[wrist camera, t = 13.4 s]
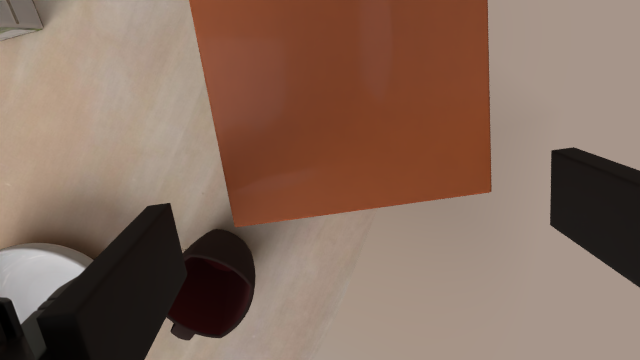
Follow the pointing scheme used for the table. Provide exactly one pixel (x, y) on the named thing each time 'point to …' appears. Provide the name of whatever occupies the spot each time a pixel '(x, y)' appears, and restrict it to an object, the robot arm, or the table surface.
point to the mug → (214, 287)
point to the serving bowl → (37, 273)
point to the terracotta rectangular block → (346, 102)
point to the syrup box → (18, 18)
